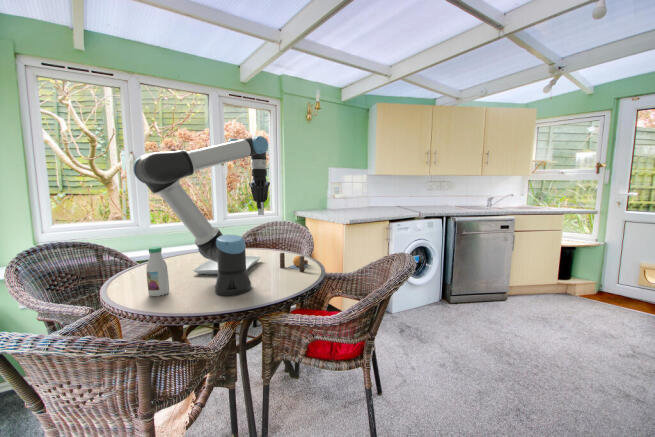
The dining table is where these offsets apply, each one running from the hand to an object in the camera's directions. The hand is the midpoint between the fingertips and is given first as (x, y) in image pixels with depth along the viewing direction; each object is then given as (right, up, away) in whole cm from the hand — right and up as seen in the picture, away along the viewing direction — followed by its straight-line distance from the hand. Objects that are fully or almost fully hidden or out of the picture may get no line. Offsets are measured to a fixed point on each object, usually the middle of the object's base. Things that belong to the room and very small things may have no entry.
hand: (261, 214), depth 151 cm
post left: (+10, -29, +8) cm, 31 cm away
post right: (+21, -29, +1) cm, 36 cm away
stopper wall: (+21, -28, +13) cm, 37 cm away
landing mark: (+18, -28, +9) cm, 35 cm away
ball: (+19, -25, +9) cm, 33 cm away
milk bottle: (-37, -34, -26) cm, 57 cm away
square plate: (-19, -29, +8) cm, 36 cm away
